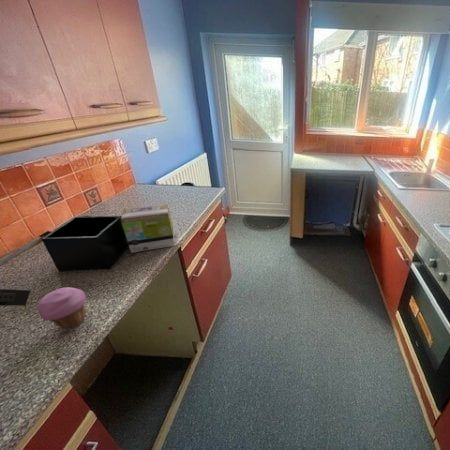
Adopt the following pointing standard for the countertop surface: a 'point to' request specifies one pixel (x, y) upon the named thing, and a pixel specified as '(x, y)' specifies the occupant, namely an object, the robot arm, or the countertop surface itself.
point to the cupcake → (63, 307)
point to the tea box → (148, 227)
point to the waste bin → (87, 243)
